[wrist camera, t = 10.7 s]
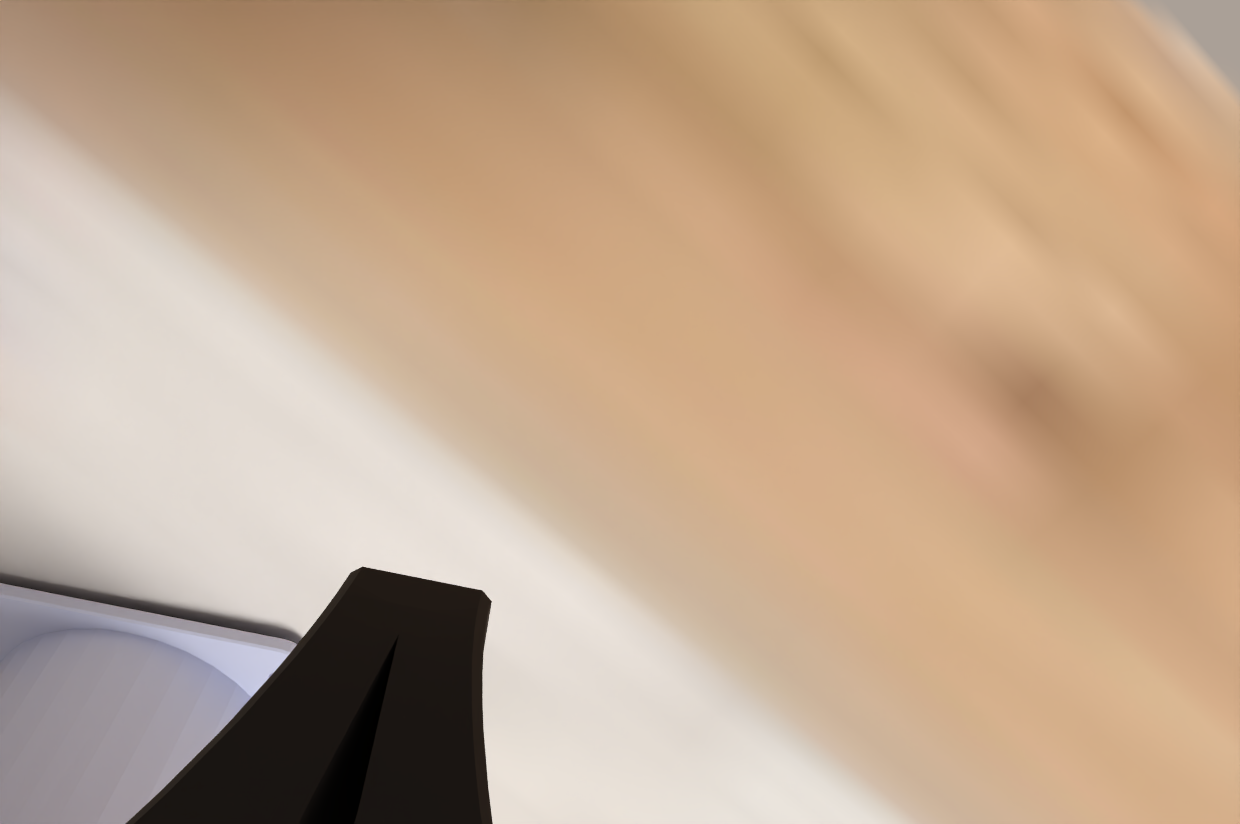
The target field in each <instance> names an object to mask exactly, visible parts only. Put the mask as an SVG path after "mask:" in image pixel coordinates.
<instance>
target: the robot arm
mask: <svg viewBox="0 0 1240 824" xmlns="http://www.w3.org/2000/svg"><path fill="white" fill-rule="evenodd" d="M491 602H492V601H491V600H490V599H489V598H488V597H487V595H486V594H485V593H484V592H483V591H482V590H477V589H472V588H467V587H462V586H457V585H452V584H447V583H442V582H437V581H432V580H427V579H422V578H417V577H412V576H406V575H401V574H396V573H391V572H386V571H381V570H376V569H371V568H366V567H361V568H359V569H357V570H355V571H353V572H351V573H350V575H349V576H348V578H347V579H346V581H345V582H344V583H343V585H342V586H341V588H340V589H339V591H338V592H337V594H336V595H335V596H334V598H333V599H332V601H331V602H330V603H329V605H328V606H327V607H326V609H325V610H324V611H323V613H322V614H321V615H320V617H319V618H318V619H317V621H316V622H315V623H314V624H313V626H312V627H311V628H310V630H309V631H308V632H307V633H306V635H305V636H304V637H303V638H302V639H301V641H300V642H299V643H298V644H296V643H294V642H292V641H289V640H286V639H281V638H276V637H271V636H266V635H261V634H256V633H251V632H246V631H241V630H236V629H231V628H226V627H220V626H215V625H210V624H205V623H200V622H195V621H190V620H185V619H180V618H175V617H170V616H165V615H160V614H155V613H149V612H144V611H139V610H134V609H129V608H124V607H119V606H114V605H109V604H104V603H99V602H94V601H89V600H84V599H78V598H73V597H68V596H63V595H58V594H53V593H48V592H43V591H38V590H33V589H28V588H23V587H18V586H13V585H7V584H2V583H0V824H493V823H492V816H491V808H490V799H489V791H488V780H487V768H486V756H485V744H484V732H483V710H482V669H483V650H484V644H485V638H486V632H487V626H488V620H489V614H490V608H491Z"/></svg>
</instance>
